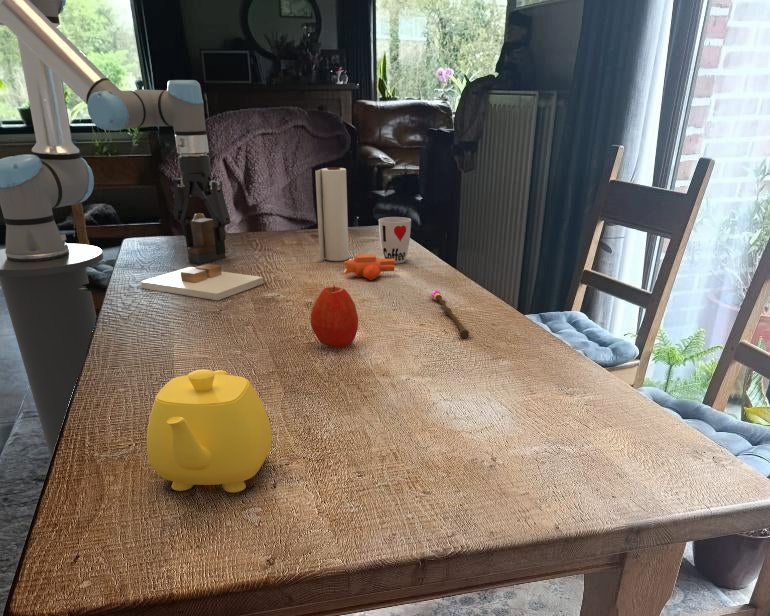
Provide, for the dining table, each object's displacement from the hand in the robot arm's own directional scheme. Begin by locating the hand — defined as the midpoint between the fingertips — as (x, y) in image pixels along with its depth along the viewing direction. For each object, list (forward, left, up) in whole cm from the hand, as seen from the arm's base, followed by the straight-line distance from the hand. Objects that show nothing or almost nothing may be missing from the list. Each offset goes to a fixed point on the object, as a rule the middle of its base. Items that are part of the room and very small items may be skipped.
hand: (206, 251), depth 183 cm
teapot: (+79, -90, -2) cm, 120 cm away
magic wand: (+76, -16, -2) cm, 77 cm away
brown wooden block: (+16, -23, 0) cm, 28 cm away
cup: (+44, +21, -2) cm, 49 cm away
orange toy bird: (+47, +3, -2) cm, 47 cm away
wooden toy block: (0, 0, -2) cm, 2 cm away
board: (+17, -21, -2) cm, 27 cm away
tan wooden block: (+16, -18, 0) cm, 24 cm away
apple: (+66, -42, -2) cm, 78 cm away
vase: (-11, +11, -2) cm, 16 cm away
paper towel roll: (+29, +16, -2) cm, 33 cm away
